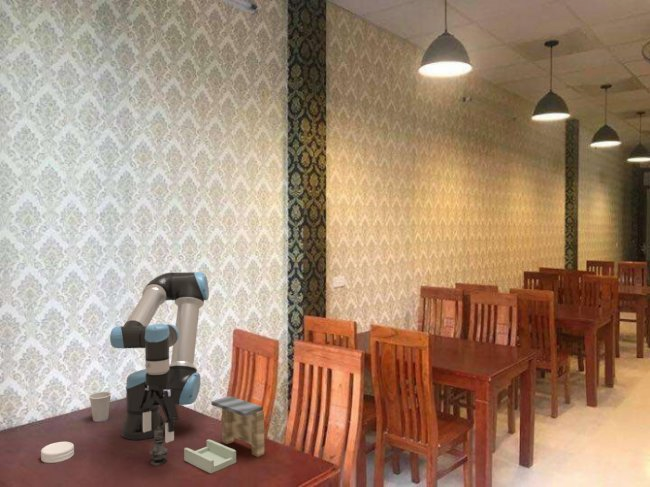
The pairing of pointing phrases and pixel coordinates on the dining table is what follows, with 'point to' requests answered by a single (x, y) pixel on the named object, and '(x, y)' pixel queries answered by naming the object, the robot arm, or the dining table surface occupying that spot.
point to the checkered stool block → (242, 422)
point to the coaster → (57, 452)
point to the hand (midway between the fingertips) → (158, 436)
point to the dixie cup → (100, 405)
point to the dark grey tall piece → (158, 448)
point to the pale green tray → (211, 457)
